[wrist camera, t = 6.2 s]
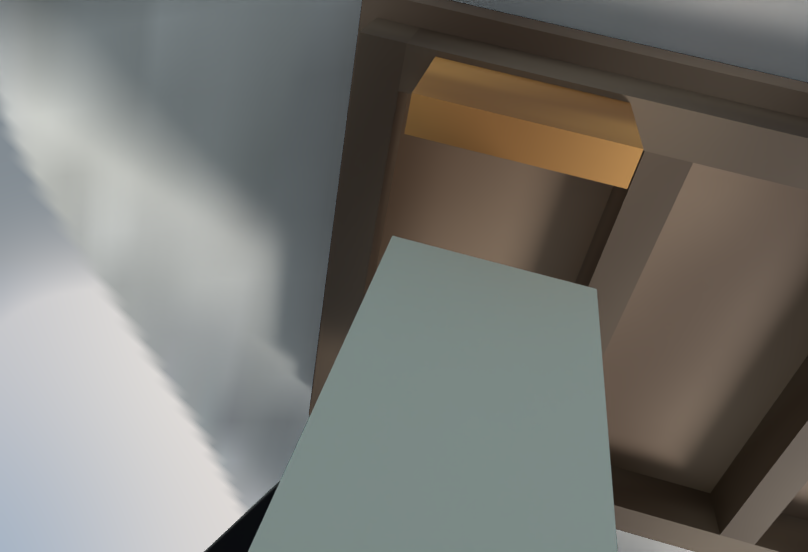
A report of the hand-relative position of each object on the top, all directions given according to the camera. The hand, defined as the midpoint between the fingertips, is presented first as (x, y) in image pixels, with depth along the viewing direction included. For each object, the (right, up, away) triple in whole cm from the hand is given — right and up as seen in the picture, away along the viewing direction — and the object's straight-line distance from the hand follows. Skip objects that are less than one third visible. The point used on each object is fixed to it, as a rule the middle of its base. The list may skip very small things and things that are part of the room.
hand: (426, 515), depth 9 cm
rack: (+6, +2, +5) cm, 8 cm away
